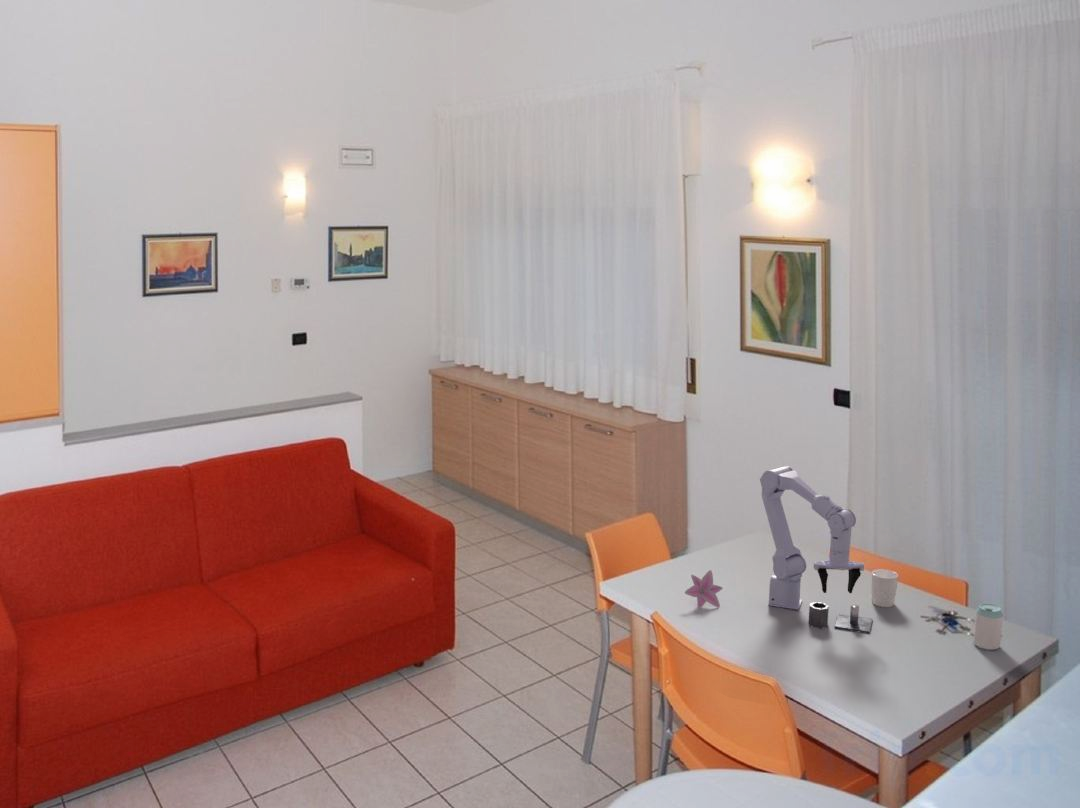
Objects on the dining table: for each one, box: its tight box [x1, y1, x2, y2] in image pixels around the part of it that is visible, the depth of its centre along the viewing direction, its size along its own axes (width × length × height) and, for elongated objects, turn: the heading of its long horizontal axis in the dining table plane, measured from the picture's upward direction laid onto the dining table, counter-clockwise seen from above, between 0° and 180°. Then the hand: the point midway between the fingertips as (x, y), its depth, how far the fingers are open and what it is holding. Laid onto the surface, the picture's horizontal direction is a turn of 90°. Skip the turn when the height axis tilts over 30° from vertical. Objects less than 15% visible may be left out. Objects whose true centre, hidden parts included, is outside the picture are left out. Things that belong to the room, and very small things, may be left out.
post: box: [834, 604, 873, 634], centre depth 306 cm, size 10×10×6 cm
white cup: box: [871, 568, 899, 608], centre depth 321 cm, size 8×8×10 cm
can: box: [972, 603, 1004, 651], centre depth 290 cm, size 7×7×12 cm
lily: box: [684, 569, 723, 610], centre depth 322 cm, size 12×12×10 cm
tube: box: [808, 601, 830, 629], centre depth 306 cm, size 5×5×6 cm
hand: (836, 591), depth 306 cm, fingers open, 7 cm apart
